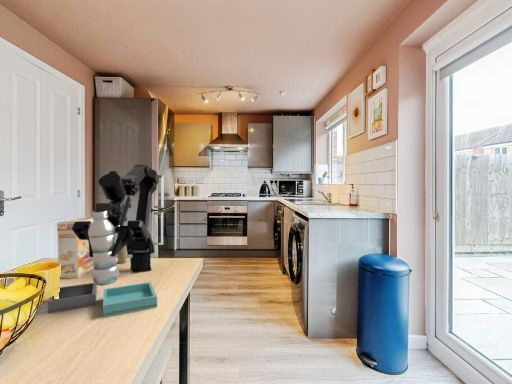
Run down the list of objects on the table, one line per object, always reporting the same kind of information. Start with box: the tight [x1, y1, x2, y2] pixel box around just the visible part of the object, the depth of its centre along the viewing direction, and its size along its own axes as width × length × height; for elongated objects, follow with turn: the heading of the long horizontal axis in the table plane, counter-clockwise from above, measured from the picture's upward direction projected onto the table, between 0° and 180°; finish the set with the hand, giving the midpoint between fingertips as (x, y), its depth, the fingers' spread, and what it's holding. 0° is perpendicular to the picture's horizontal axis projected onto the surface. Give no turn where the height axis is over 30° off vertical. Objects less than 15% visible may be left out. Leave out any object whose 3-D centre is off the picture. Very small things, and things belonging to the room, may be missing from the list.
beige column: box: [116, 224, 128, 264], centre depth 120 cm, size 5×6×15 cm
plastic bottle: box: [88, 210, 120, 286], centre depth 79 cm, size 6×7×20 cm
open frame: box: [46, 282, 98, 314], centre depth 81 cm, size 11×11×3 cm
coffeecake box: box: [56, 216, 94, 279], centre depth 108 cm, size 15×7×20 cm, turn 5°
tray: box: [102, 281, 158, 318], centre depth 80 cm, size 13×13×3 cm
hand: (101, 256), depth 78 cm, fingers closed on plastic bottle, 5 cm apart
